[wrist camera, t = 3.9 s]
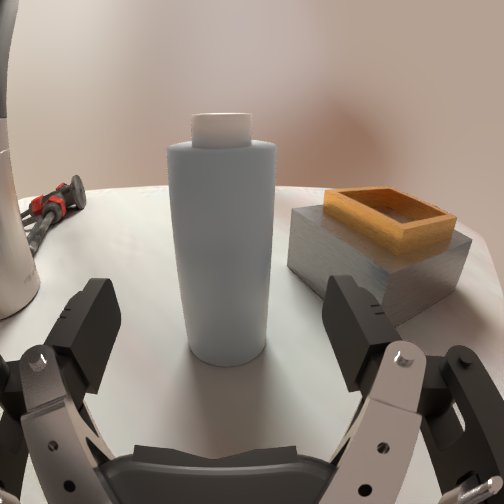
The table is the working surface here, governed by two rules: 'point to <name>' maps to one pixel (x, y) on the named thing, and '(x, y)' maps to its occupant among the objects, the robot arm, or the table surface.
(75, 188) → the valve
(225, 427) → the table surface
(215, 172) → the light blue bottle
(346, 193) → the gold-trimmed base block
